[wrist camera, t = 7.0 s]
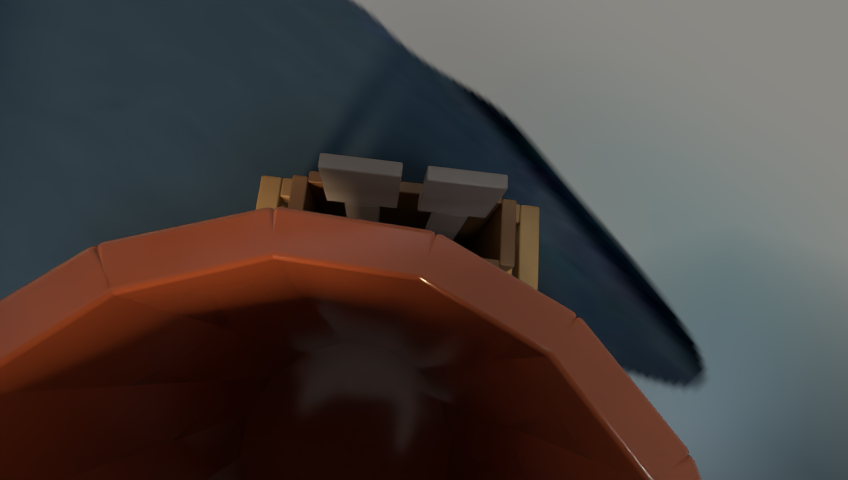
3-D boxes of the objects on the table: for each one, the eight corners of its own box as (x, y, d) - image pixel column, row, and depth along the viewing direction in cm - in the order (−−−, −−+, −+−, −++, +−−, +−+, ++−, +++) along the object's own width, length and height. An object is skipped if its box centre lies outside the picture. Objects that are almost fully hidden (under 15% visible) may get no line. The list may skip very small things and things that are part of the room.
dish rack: (497, 572, 20) (654, 828, 9) (224, 558, 19) (20, 822, 8) (509, 235, 24) (631, 119, 13) (281, 210, 23) (198, 62, 12)
